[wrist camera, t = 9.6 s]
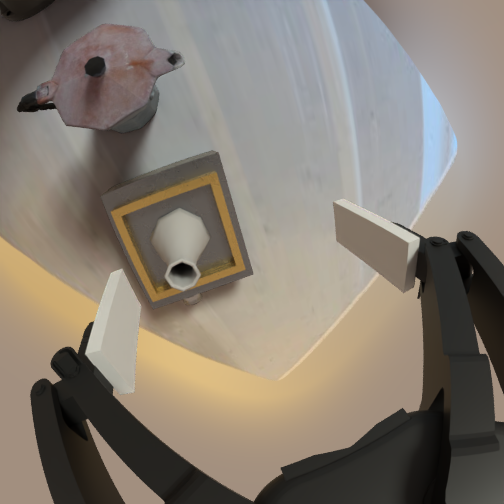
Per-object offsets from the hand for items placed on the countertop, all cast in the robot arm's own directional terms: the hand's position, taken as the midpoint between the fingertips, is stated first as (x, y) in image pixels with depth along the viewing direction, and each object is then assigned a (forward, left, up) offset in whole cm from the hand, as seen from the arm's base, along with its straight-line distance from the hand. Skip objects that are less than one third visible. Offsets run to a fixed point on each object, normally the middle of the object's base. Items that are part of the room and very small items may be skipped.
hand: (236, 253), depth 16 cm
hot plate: (+6, -5, -24) cm, 25 cm away
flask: (+4, -5, -18) cm, 19 cm away
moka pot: (-15, -7, -24) cm, 29 cm away
